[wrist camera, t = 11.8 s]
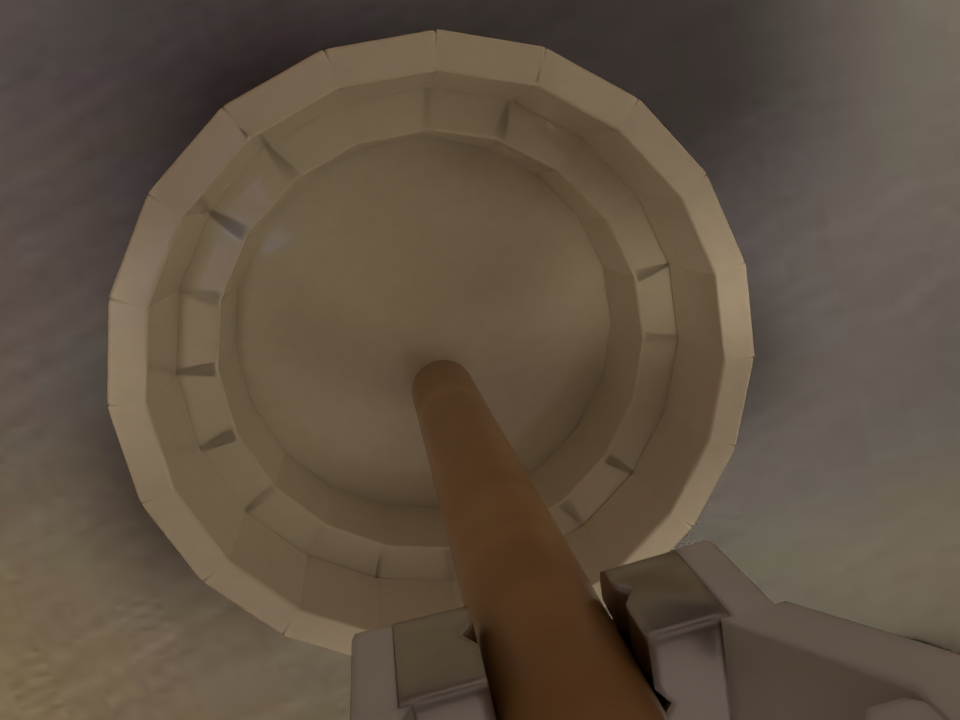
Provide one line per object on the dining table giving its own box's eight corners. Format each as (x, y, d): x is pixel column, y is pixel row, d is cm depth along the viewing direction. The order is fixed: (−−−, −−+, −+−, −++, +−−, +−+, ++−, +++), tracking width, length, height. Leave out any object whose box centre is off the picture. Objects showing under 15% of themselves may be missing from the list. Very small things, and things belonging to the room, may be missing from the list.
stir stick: (405, 367, 21) (630, 1254, 4) (466, 353, 21) (961, 1130, 4) (419, 425, 21) (672, 1457, 4) (478, 411, 21) (964, 1340, 4)
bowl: (107, 129, 20) (1, 104, 14) (621, 34, 21) (719, -23, 15) (253, 597, 23) (218, 731, 18) (680, 487, 25) (776, 578, 19)
